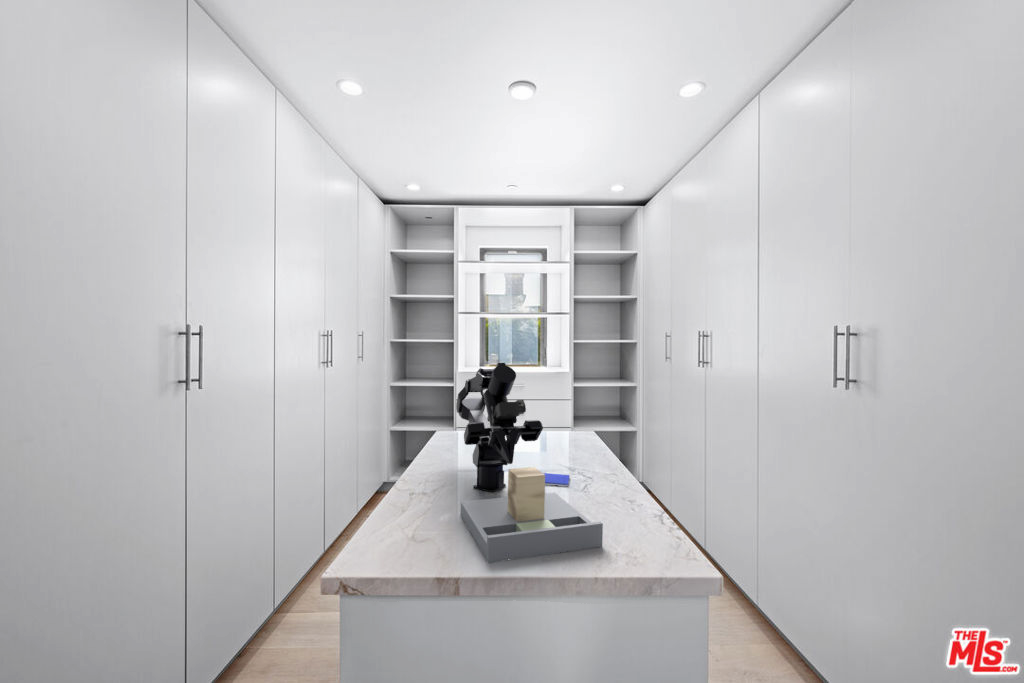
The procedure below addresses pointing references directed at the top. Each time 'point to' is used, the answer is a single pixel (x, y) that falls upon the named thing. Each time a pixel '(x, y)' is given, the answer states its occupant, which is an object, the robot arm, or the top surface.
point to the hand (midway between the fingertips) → (510, 463)
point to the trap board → (529, 529)
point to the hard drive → (556, 479)
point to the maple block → (526, 493)
